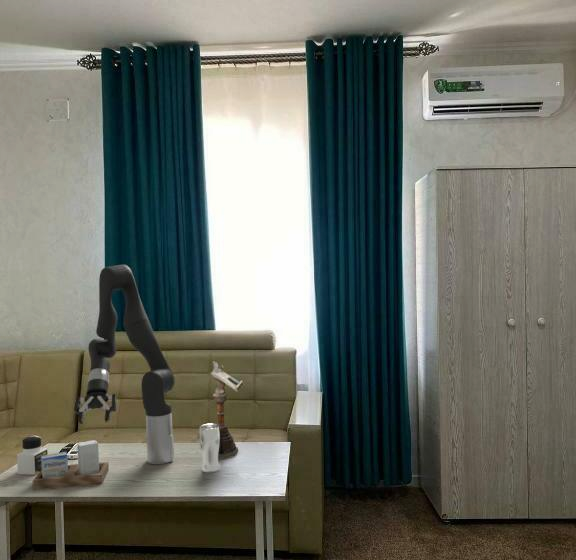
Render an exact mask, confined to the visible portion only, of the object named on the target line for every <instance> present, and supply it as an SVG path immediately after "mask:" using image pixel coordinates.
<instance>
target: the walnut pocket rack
mask: <svg viewBox="0 0 576 560" xmlns="http://www.w3.org/2000/svg"><path fill="white" fill-rule="evenodd" d="M109 471H110V470H109V461H101V462H100V461H99V474H88V475H79V466H78V463H77V464H68V472H67V473H66V474H65V475H64V477H54V478H42V470H41V471H40V472H39V473H38V474H36V475H35V477H34V479H33V480H32V490H33V491H35V490H45V489H46V490H47V489H56V488H57V489H58V488H69V487H80V486H90V485H91V486H92V485H103V484H104V481H105V478H106V476H107V474H108V473H109Z"/></svg>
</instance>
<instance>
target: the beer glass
mask: <svg viewBox="0 0 576 560" xmlns="http://www.w3.org/2000/svg"><path fill="white" fill-rule="evenodd" d="M198 434H199V435H198V436H199V449H200V451H201V457H202V465H201V466H202V467H201V471H202V472H203V473H208V474H209V473H210V474H212V473H216V472H219V470H220V469H221V468H220V463H219V459H218V453H219V446H220V433H219V425H217V423H205V424H202V425H200V426H199V433H198Z"/></svg>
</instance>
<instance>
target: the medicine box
mask: <svg viewBox="0 0 576 560" xmlns="http://www.w3.org/2000/svg"><path fill="white" fill-rule="evenodd" d="M68 461H69V460H68V453H67V451H62V452H55V453H50V454H48V455H43V456H41V463H42V478H54V477H64V475H65V474H66V473H67V472H68V465H69V462H68Z"/></svg>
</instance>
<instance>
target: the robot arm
mask: <svg viewBox="0 0 576 560" xmlns="http://www.w3.org/2000/svg"><path fill="white" fill-rule="evenodd" d="M98 279H99V280H98V284H99V285H98V290H99V291H98V301H99V302H98V304H99V306H98V307H99V310H98V311H99V312H98V317H97V325H96V330H95V334H96V336H98V337H99V338H94V339H92V340H90V341H89V344H88V348H87V349H88V354H89V359H90V369H89V375H88V379H87V386H86V395H85V396H84V397H80V395H78V396H76V399H75V403H74V408H73V411H74V415H78V417H77V421H78V423H79V424H80V425H83V423H84V417H85V414H86V413H87V412H89V410H95V409H101V408H102V409H103V410H104V412H105V413H104V422H105V423H108V422H109V421H110V419H111V413H112V412H116V410H117V396H116V394H115V393H112V394H111V395H109V385H110V370H111V362H110V360H109V359H112V358H113V357H115V356H116V354H117V342H116V328H117V324H118V315H117V311H116V309H115V307H114V305H113V302H112V297H113V293H114V292H115V291H120V290H121V291H122V293H123V296H124V299H125V310H124V313H123V321H122V322H123V325H122V326H123V327H124V328H123V329H124V331H125V333H126V336H127V338H128V340H129V342H130V344H131V345H132V346H133V348H134V349H135V350H137V351H138V352H139V353H140V354H141V355H142V357H144V359H145V360H146V363H147V365H148V367H149V369H150V370H149V371H147V372H146V373H144V374H143V376H142V379H141V396H142V397H141V398H142V405H143V408H144V410H145V427H146V428H145V430H146V453H147V455H146V457H147V463H149V464H152V465H164V464H168V463H171V462H174V458H175V454H174V452H175V451H174V450H175V449H174V447H175V446H174V431H173V415H172V414H173V413H172V412H173V411H172V409H173V408H172V405H171V403H168V402H166V400H165V394H166V393H168V392H170V391H172V390H173V388H174V386H175V382H176V381H175V376H174V373H173V371H172V369H171V367H170V365H169V363H168V361H167V359H166V357H165V355H164V354H163V352H162V349H161V347H160V345H159V342H158V339H157V338H156V335H155V333H154V329H153V327H152V325H151V322H150V320H149V317H148V316H147V313H146V310H145V308H144V305H143V302H142V300H141V297H140V294H139V290H138V285H137V283H136V280H135V277H134V274H133V271H132V269H131V268H130V267H129V266H128V265H127V264H118V265H111V266H105V267H104V268H102V269H101V271H100V273H99V277H98ZM100 338H101V339H100ZM108 401H110V402H111V406H109V405H108V403H107V402H108ZM83 402H84V404H83ZM81 405H82V407H81Z"/></svg>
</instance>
